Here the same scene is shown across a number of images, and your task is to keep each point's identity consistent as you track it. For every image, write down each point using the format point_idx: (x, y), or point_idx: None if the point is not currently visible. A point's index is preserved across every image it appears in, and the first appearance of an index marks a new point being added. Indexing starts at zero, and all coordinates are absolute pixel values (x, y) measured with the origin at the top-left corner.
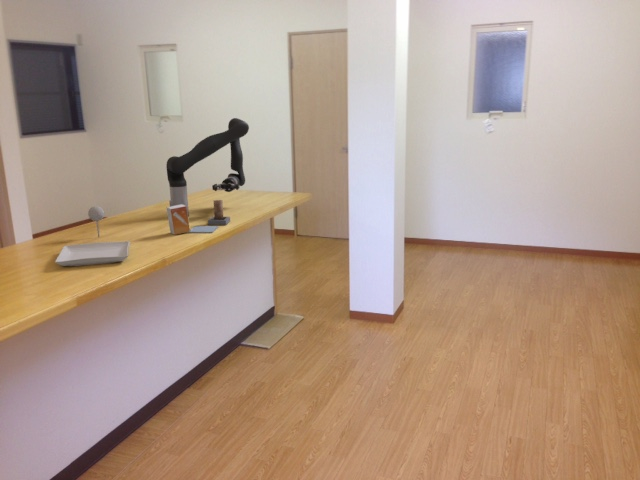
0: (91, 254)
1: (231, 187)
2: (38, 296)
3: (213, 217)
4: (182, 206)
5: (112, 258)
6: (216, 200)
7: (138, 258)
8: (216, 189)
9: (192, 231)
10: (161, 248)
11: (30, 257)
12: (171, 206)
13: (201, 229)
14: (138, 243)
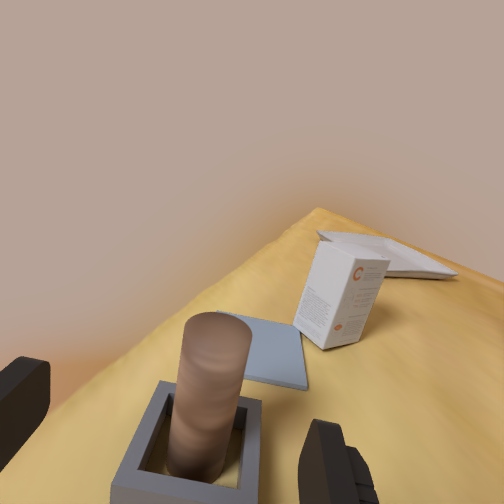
0: (394, 264)
1: (15, 371)
2: (337, 220)
3: (243, 475)
4: (331, 242)
5: (333, 234)
6: (231, 338)
7: (311, 246)
8: (307, 492)
9: (285, 326)
10: (301, 263)
11: (477, 279)
12: (377, 257)
13: (261, 339)
14: None
